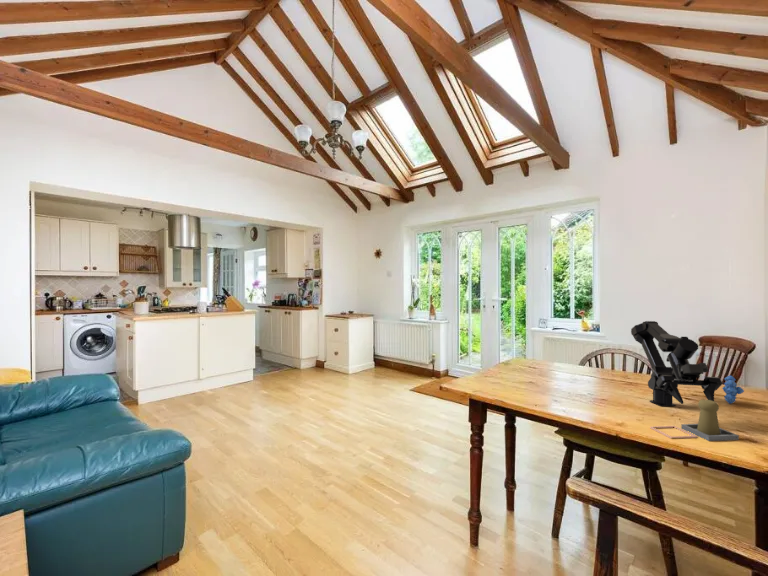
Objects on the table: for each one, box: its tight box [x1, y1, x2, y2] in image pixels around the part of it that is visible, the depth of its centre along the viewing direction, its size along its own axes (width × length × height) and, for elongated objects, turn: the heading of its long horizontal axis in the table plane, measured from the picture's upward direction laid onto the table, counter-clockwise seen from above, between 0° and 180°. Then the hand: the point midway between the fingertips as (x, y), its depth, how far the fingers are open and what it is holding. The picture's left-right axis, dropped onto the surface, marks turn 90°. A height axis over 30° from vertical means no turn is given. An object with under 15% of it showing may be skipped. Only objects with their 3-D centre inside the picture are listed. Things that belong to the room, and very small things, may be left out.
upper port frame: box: [649, 425, 698, 439], centre depth 124 cm, size 9×9×1 cm
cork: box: [697, 399, 721, 435], centre depth 123 cm, size 6×6×11 cm
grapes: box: [721, 375, 745, 404], centre depth 152 cm, size 12×7×12 cm, turn 142°
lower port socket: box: [680, 423, 740, 442], centre depth 123 cm, size 10×10×2 cm
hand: (697, 404), depth 129 cm, fingers open, 9 cm apart
